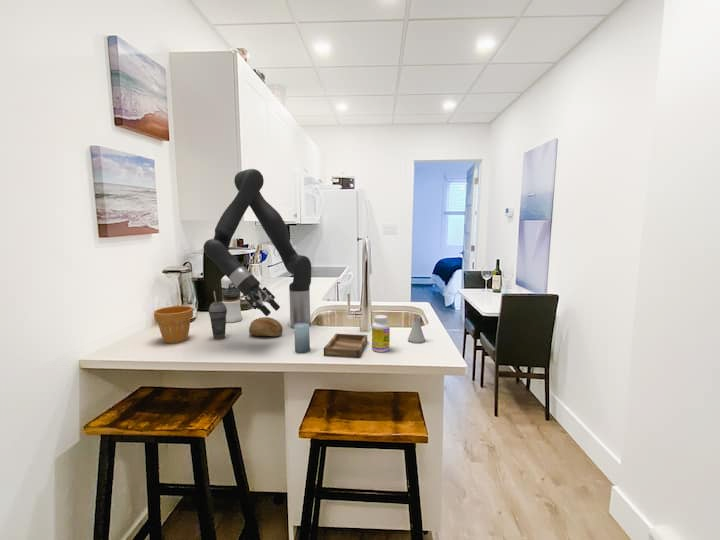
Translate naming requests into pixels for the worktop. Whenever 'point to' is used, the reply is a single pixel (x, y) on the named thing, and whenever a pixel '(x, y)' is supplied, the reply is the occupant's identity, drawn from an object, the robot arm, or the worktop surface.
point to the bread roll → (265, 327)
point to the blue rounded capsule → (302, 337)
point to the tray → (345, 345)
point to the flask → (416, 331)
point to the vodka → (231, 300)
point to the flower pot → (174, 322)
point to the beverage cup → (218, 318)
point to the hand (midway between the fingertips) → (273, 311)
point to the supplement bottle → (380, 334)
